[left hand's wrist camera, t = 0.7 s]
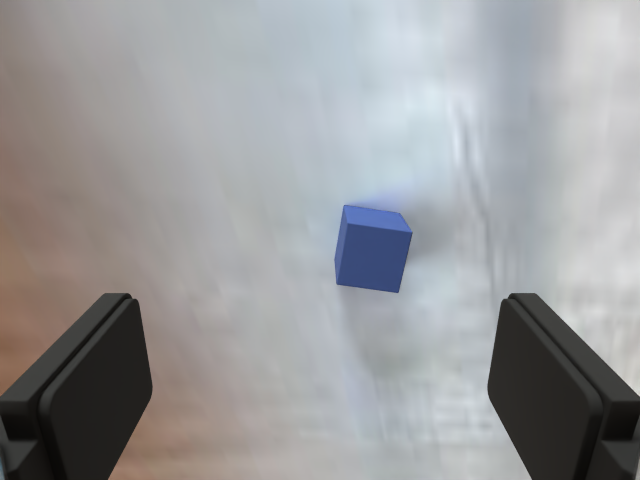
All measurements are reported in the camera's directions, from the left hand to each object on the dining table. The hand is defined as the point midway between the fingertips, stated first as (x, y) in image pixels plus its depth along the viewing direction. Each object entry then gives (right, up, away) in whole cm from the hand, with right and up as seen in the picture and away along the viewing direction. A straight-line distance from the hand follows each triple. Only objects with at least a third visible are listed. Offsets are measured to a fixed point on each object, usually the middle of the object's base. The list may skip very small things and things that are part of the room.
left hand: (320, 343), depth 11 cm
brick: (+4, +3, +21) cm, 21 cm away
